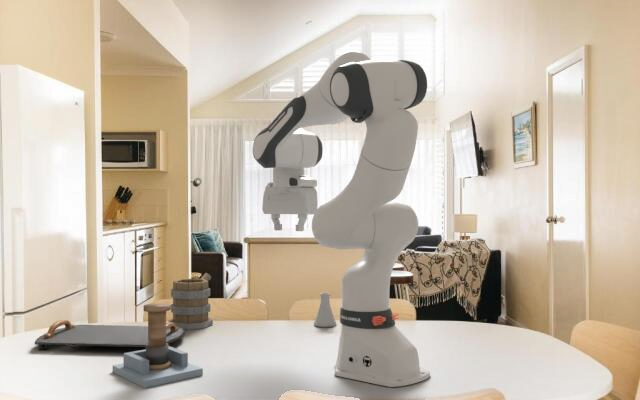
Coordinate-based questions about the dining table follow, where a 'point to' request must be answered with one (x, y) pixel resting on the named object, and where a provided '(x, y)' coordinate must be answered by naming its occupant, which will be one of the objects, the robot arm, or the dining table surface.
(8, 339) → the dining table surface
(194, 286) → the tankard
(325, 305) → the flask
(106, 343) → the serving board
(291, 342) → the dining table surface
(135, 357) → the notched block
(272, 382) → the dining table surface
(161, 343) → the bobbin
